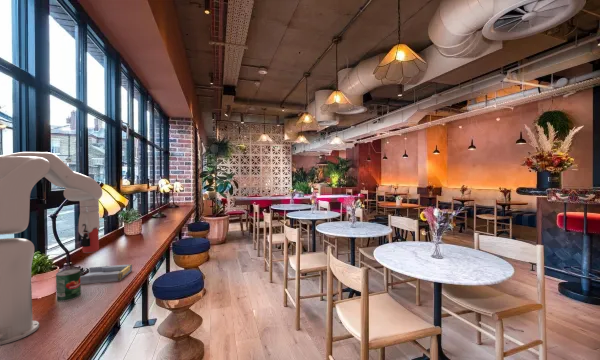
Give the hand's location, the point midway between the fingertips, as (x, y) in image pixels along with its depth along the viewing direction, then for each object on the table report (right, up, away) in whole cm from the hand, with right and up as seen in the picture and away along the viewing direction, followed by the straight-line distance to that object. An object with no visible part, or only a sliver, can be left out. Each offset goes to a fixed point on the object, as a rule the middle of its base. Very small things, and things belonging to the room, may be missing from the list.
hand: (90, 244), depth 135 cm
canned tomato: (+7, -18, -21) cm, 28 cm away
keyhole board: (+6, -17, +2) cm, 18 cm away
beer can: (0, -4, 0) cm, 4 cm away
